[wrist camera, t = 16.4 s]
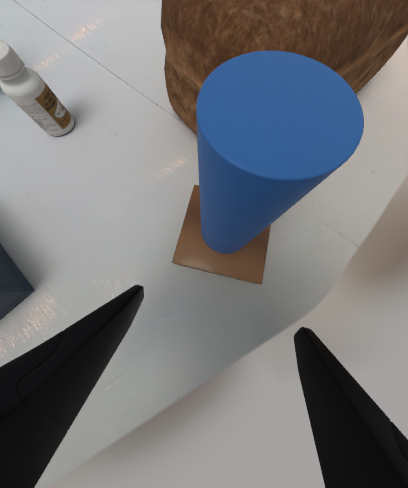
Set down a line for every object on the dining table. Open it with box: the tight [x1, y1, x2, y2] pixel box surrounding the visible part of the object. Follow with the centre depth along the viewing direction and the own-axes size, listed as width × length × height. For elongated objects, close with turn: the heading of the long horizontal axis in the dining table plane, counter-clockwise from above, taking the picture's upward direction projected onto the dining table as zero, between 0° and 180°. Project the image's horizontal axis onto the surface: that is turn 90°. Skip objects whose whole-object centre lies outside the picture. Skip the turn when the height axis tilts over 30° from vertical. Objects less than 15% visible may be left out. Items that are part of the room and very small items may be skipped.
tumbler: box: [196, 51, 364, 254], centre depth 11 cm, size 6×6×13 cm
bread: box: [161, 0, 408, 135], centre depth 18 cm, size 17×30×13 cm, turn 129°
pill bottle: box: [0, 40, 74, 136], centre depth 19 cm, size 4×4×8 cm
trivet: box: [172, 185, 271, 284], centre depth 18 cm, size 10×10×2 cm
